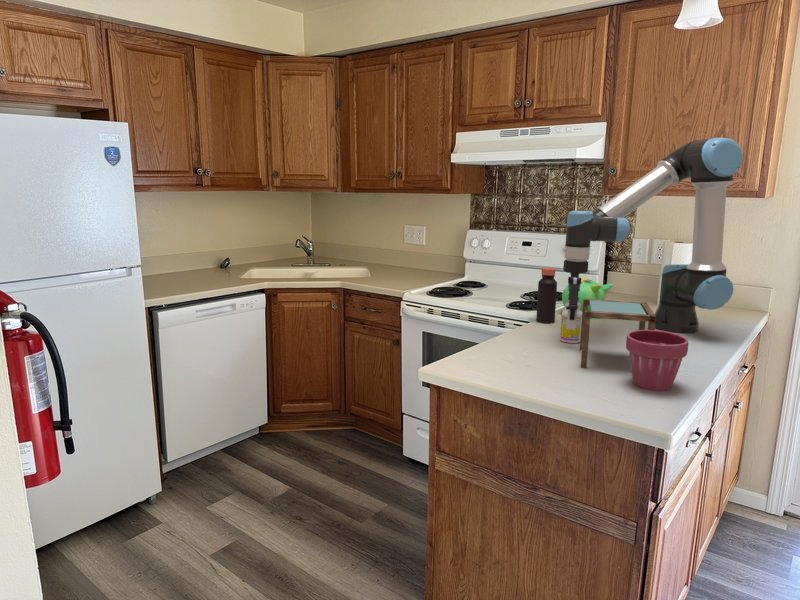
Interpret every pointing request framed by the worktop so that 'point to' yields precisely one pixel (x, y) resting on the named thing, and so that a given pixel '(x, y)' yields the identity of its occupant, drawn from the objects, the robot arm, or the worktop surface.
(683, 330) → the robot arm
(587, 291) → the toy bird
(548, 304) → the vinegar
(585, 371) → the worktop surface
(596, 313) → the frame
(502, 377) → the worktop surface
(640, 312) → the trapdoor
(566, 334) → the supplement bottle
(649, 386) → the plant pot
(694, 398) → the worktop surface
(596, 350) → the worktop surface
